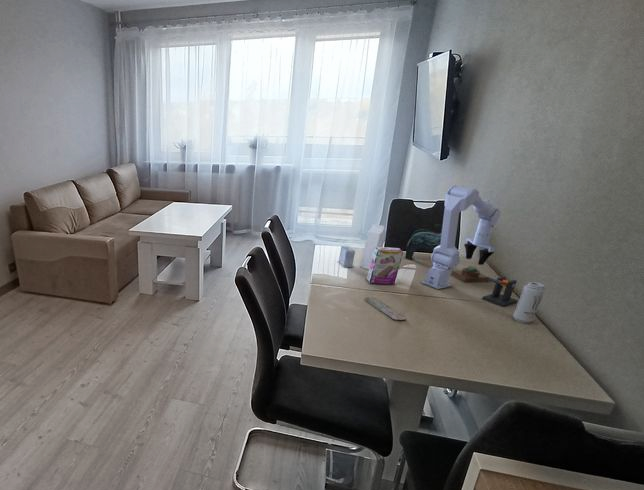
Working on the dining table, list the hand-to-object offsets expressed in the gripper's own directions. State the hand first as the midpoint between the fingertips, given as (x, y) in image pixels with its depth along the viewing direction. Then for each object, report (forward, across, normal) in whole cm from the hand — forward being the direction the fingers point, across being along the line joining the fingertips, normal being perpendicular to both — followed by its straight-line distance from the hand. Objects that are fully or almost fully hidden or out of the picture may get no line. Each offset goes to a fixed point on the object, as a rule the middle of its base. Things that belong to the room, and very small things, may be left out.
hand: (474, 261), depth 194 cm
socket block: (+8, 0, 0) cm, 8 cm away
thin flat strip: (+7, -29, +61) cm, 68 cm away
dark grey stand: (+8, -25, +6) cm, 27 cm away
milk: (+8, +16, +42) cm, 46 cm away
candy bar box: (+8, -3, +47) cm, 48 cm away
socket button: (+5, 0, 0) cm, 5 cm away
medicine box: (+8, +20, +52) cm, 57 cm away
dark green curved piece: (+9, +23, +7) cm, 26 cm away
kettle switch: (0, -26, +10) cm, 28 cm away
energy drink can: (+8, -42, +12) cm, 44 cm away
